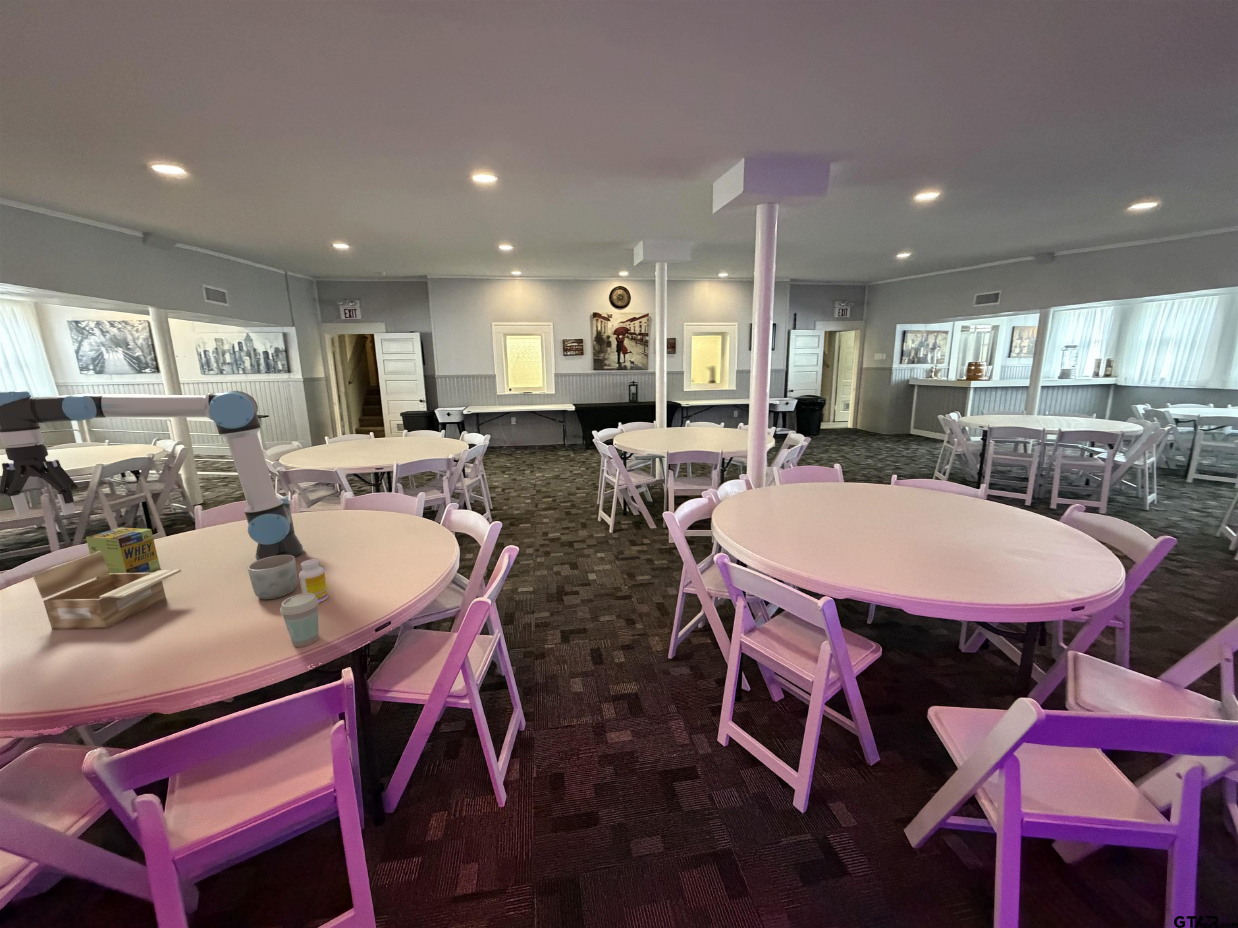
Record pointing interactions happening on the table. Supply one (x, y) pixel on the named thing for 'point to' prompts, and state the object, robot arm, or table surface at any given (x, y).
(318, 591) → the supplement bottle
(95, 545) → the protein box
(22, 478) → the robot arm
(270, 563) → the planter
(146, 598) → the light wood open box
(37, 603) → the table surface
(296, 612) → the coffee cup
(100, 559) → the open flap
